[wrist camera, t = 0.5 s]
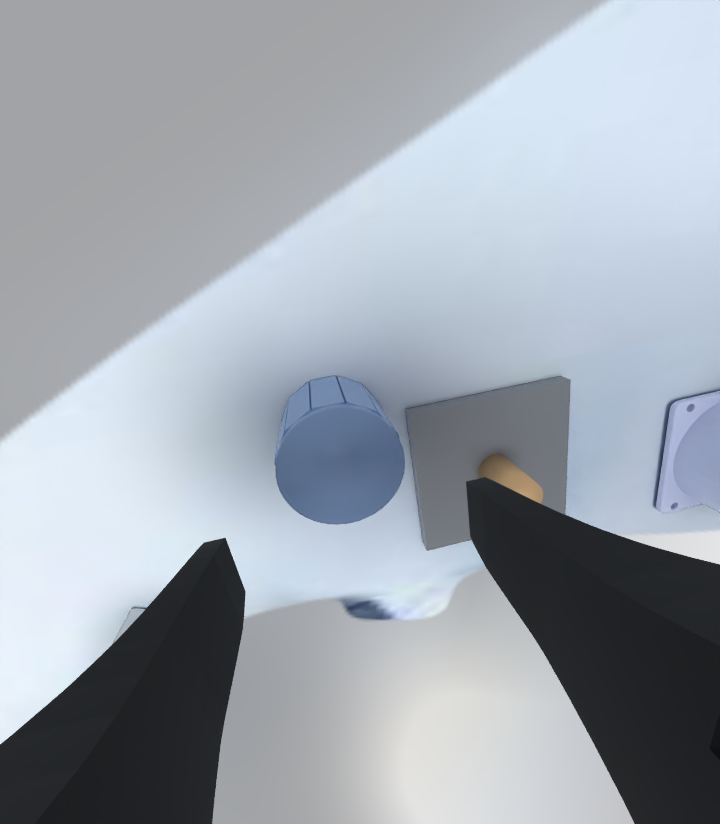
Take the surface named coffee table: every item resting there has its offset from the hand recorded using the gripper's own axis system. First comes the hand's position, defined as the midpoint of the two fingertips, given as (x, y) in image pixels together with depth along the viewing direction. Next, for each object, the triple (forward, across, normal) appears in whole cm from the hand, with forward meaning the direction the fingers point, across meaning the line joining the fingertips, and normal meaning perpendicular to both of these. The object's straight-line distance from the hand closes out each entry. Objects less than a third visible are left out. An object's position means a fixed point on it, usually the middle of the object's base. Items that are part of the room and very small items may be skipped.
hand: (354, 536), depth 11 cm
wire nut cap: (+9, 0, 0) cm, 9 cm away
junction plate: (+9, -8, +4) cm, 13 cm away
